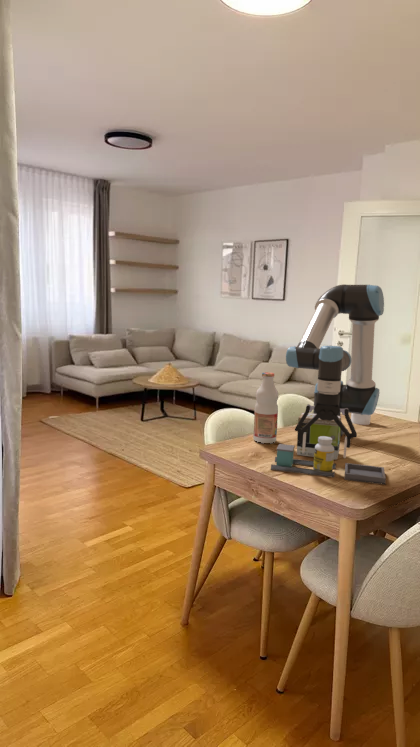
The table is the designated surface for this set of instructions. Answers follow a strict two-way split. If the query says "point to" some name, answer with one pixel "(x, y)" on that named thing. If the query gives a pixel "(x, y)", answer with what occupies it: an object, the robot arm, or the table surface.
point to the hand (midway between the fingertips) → (323, 454)
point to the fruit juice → (266, 410)
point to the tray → (364, 473)
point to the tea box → (318, 435)
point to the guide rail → (303, 470)
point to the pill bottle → (324, 454)
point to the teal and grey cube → (285, 455)
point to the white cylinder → (360, 419)
